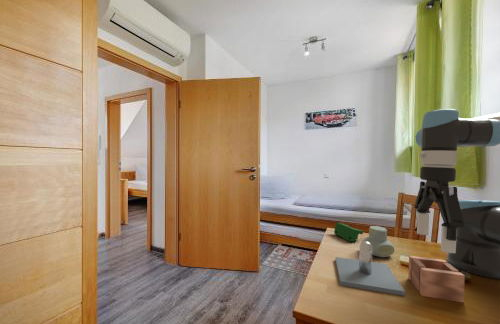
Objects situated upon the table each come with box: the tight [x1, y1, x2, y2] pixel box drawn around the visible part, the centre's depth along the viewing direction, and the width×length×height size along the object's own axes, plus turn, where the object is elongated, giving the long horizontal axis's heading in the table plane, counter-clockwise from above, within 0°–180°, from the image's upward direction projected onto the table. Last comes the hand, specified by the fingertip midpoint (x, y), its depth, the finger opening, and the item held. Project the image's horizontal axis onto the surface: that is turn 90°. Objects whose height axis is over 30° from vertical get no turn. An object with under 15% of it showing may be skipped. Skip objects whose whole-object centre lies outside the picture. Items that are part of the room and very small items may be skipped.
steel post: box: [358, 241, 373, 275], centre depth 68 cm, size 4×4×10 cm
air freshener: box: [361, 225, 396, 258], centre depth 84 cm, size 11×8×10 cm
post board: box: [335, 257, 406, 297], centre depth 69 cm, size 16×16×1 cm
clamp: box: [333, 222, 364, 243], centre depth 101 cm, size 12×6×9 cm, turn 14°
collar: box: [408, 255, 466, 303], centre depth 62 cm, size 9×9×7 cm
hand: (433, 242), depth 62 cm, fingers open, 13 cm apart
